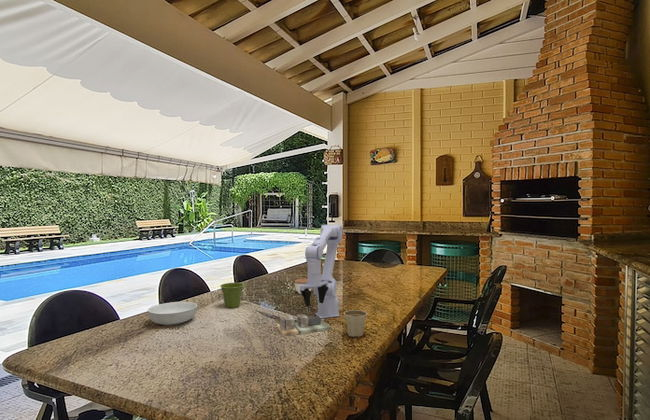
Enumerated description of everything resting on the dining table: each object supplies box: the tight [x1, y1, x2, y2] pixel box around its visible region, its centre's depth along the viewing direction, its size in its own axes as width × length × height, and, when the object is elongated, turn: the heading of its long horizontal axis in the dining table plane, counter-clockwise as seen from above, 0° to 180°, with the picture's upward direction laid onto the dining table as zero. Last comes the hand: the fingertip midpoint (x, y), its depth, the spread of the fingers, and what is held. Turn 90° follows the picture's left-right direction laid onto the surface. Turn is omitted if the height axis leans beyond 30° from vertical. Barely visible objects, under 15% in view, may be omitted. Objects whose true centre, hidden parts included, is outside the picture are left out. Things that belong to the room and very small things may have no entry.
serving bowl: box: [147, 301, 198, 326], centre depth 170 cm, size 21×21×7 cm
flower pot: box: [343, 309, 368, 338], centre depth 152 cm, size 9×9×9 cm
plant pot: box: [219, 282, 245, 309], centre depth 195 cm, size 12×12×11 cm
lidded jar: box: [294, 276, 313, 295], centre depth 224 cm, size 11×11×9 cm
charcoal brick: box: [297, 315, 322, 327], centre depth 161 cm, size 9×3×3 cm, turn 111°
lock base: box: [276, 313, 332, 337], centre depth 160 cm, size 20×12×5 cm, turn 111°
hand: (314, 304), depth 165 cm, fingers open, 7 cm apart
